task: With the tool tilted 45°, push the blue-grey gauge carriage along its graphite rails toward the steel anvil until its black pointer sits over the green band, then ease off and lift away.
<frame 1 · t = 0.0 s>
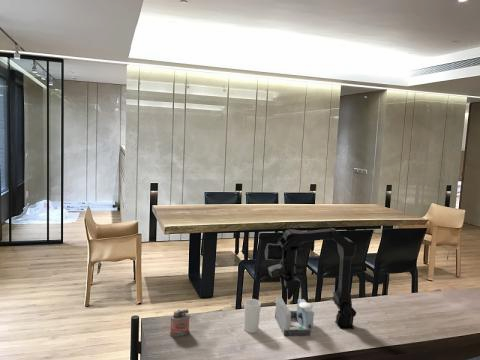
hand: (285, 294, 174), 15 cm above the table, fingers open, 9 cm apart
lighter: (179, 333, 165), on the table
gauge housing: (290, 326, 177), on the table
gauge carriage: (305, 316, 176), point 5 cm above the table, slide at 0.0 cm
mug: (250, 327, 174), on the table
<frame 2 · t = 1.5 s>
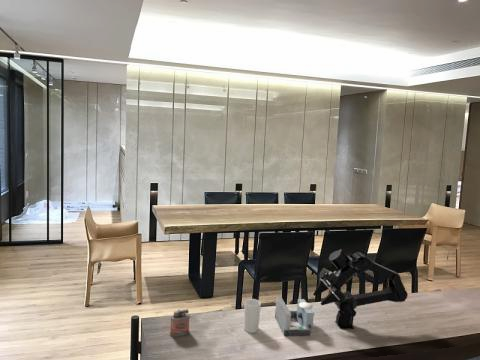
hand: (317, 299, 177), 12 cm above the table, fingers open, 9 cm apart
nothing on the table moved.
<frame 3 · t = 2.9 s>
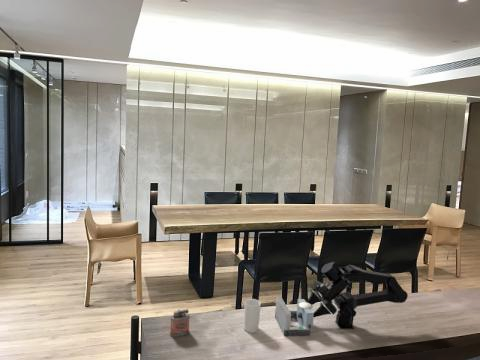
hand: (308, 311, 177), 7 cm above the table
gauge carriage: (305, 316, 176), point 5 cm above the table, slide at 0.0 cm, touching gripper
everything else where it was.
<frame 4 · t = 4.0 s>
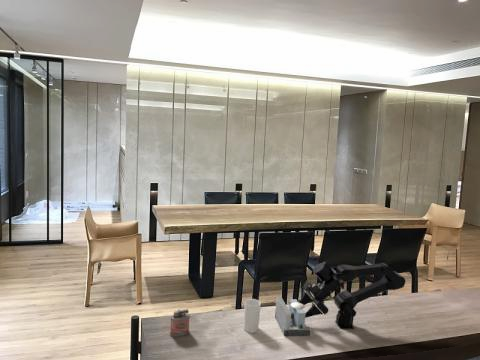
hand: (300, 311, 176), 7 cm above the table
gauge carriage: (297, 316, 175), point 5 cm above the table, slide at 3.7 cm, touching gripper
everything else where it was.
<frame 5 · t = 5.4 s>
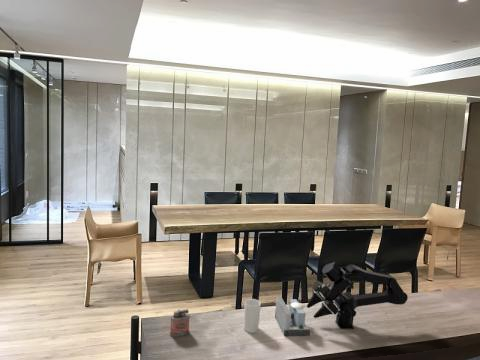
hand: (310, 312, 177), 6 cm above the table, fingers open, 9 cm apart
gauge carriage: (297, 316, 175), point 5 cm above the table, slide at 3.7 cm
everything else where it was.
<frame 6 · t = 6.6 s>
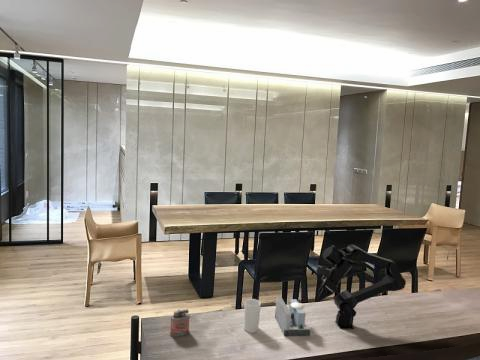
hand: (317, 298, 177), 13 cm above the table, fingers open, 9 cm apart
nothing on the table moved.
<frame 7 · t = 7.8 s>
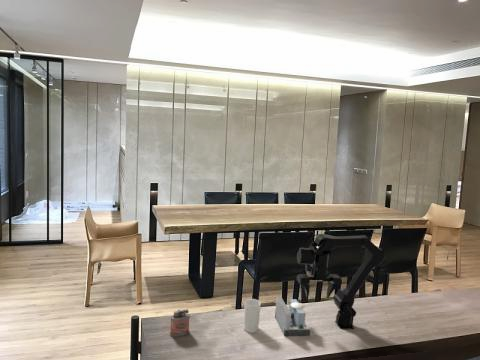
hand: (317, 298, 177), 13 cm above the table, fingers open, 9 cm apart
nothing on the table moved.
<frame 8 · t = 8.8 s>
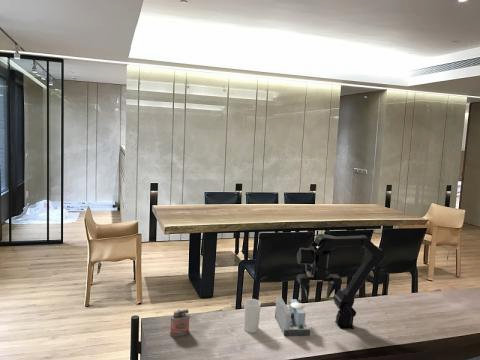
hand: (317, 298, 177), 13 cm above the table, fingers open, 9 cm apart
nothing on the table moved.
at the end: gauge carriage slide at 3.7 cm; mug moved 0.2 cm from its start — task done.
